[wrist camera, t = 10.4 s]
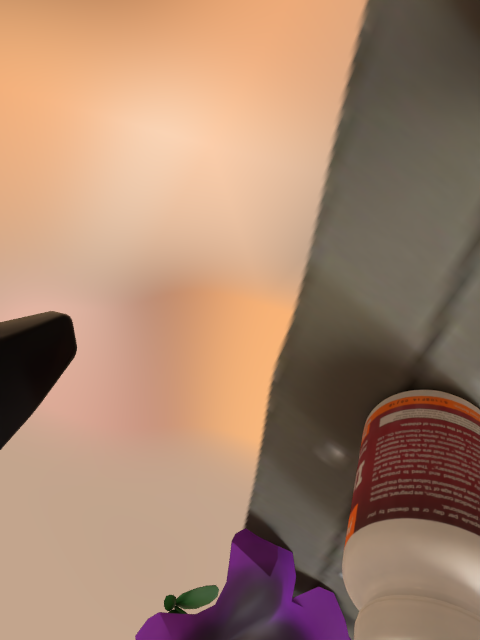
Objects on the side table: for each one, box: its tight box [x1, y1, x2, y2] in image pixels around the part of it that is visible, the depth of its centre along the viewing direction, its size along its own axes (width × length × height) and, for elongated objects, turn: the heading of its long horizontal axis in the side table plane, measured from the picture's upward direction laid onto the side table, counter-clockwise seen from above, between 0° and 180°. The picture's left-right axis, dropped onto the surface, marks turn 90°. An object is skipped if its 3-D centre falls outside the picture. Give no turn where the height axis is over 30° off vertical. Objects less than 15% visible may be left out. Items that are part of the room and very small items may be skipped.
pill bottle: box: [342, 390, 480, 640], centre depth 17 cm, size 6×6×11 cm
